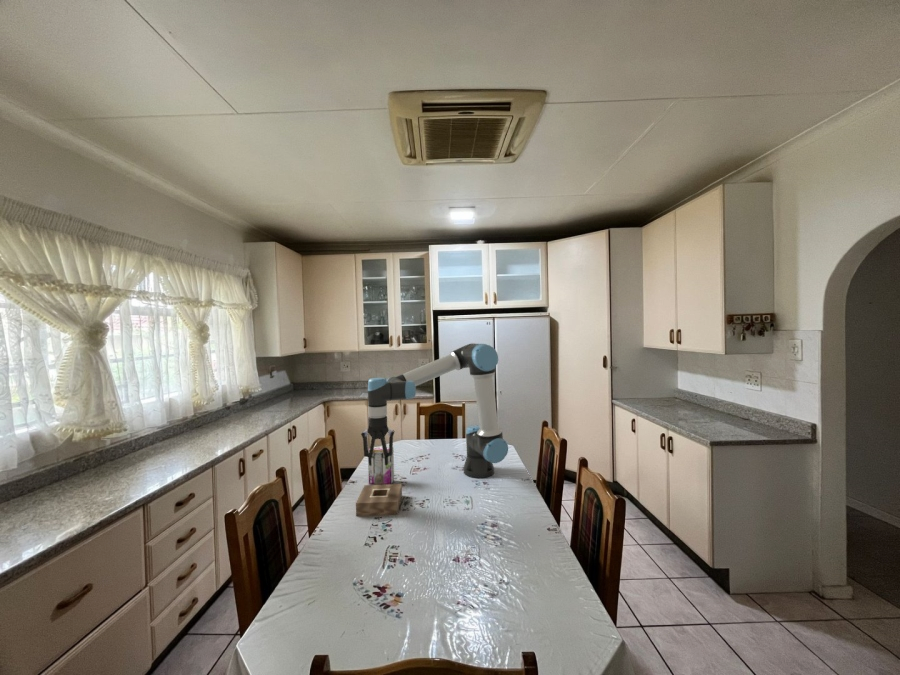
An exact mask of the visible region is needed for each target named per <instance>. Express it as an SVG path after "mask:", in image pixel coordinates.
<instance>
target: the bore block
mask: <svg viewBox="0 0 900 675" xmlns="http://www.w3.org/2000/svg"><path fill="white" fill-rule="evenodd" d="M402 485H403V484H402V483H392V484H364V485H363V487H362V490H361V491H360V493H359V496H358V498H357V500H356V502H355V516H356V517H366V516H367V517H368V516H369V517H370V516H389V515H393V516H394V515H395V516H396V515H399V511H400V505H401V501H402V498H403V497H402V496H403V489H402V488H403V487H402Z"/></svg>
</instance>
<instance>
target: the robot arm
mask: <svg viewBox="0 0 900 675" xmlns="http://www.w3.org/2000/svg"><path fill="white" fill-rule="evenodd" d="M498 363H499V354H498V352H497V350H496V349H495V348H494V347H493V346H491V345H490V344H486V343H468V344H466V345H463V346H461V347H459V348H456V349H454V350H453V351H450V352H449V354H448V355H446V356H443V357H441V358H438V359H435V360H433V361H431V362H429V363H426V364H423V365H421V366H420V367H419V366H418V367H416V368H414V369H411V370H409V371H407V372H404V373H402V374H398V375H396V376H390V377H388V378H385V377H371V378H369V380H367V381H368V382H367V410H368V411H367V415H368V428H367V429H366V430H363V431H362V433H361V434H360V435H361V437H362V443H363V445H362V446H363V456H364V457H367V459H368V458H369V466H372V474H374V456H372V455H373V450H374V447H375V444H376V440H379V441H380V443H381V447H382V448H383V452H384V457H383V474H385V472H386V465H388V457H389V456H391V455H392V453H393V454H394V444H393V443H394V434H395V430H391V429H390V428H389V427H388V416H387V415H388V404H387V403H388V401H389V402H390V401H400V400H410V399H414V398H415V397H416V393H417V392H416V391H417V389H416V388H417V386H420V385H423V384H424V383H427V382H428V381H431V380H433V379H435V378H438V377H440V376H443V375H445V374H448V373H450V372H451V371H454V370H457V371H460V370H463V369H467V368H469V375H470V376H471V377H472V378H473V382H474V390H475V391H474V392H475V399H476V407H477V415H478V416H477V417H478V425H477V424H475V425H470V426H468V427H466V429H465V430H466V431H465V432H466V433H465V438H466V439H465V440H466V441H465V442H466V445H465V446H466V458H465V462H464V466H463V474H464V475H465V476H468V477H470V478H475V479H482V478H483V479H484V478H488V477H491V476H493V475H494V473H495V467H494V464H498V463H500V462H502V461H503V460H504V459H505V458H506V457H507V455H508V452H509V445H508V443H507V441H506V440H505V439H504V437H503V436H504V435H503V429H502V428H500V427H499V423H498V414H497V413H498V412H497V404H496V396H495V395H496V394H495V386H494V377H493V376H494V375H495V374H496V367H497V365H498ZM387 434H388V436H389V439H388V446H387V442H386V435H387ZM368 436H370V438H371V441H370V447H369V446H368V445H369V444H368V443H369V442H368ZM387 447H389V452H388V451H387ZM368 449H370V452H369V453H368Z"/></svg>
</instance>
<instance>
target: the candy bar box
mask: <svg viewBox="0 0 900 675" xmlns="http://www.w3.org/2000/svg"><path fill="white" fill-rule="evenodd" d="M378 451H381V452H383V448H382V446H374V450H373V453H374V452H378ZM387 451H388V452H389V446H387ZM369 452H370V448H368V453H369ZM372 456H374V455H372ZM383 456H384V452H383ZM367 459H368V460H367V462H368V485H376V484H375V483H374V474H372V466H369V458H368V457H367ZM394 463H395V462H394V452H393V453H392V455H391V456H389V457H388V465H386V472H385V474H384V483H382V484H381V485H385V484H394V481H395V469H394V468H395V467H394V466H395V464H394Z"/></svg>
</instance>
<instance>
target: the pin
mask: <svg viewBox="0 0 900 675" xmlns="http://www.w3.org/2000/svg"><path fill="white" fill-rule="evenodd" d="M373 455H374V483H375V484H374V485H383V484H382V483H384V474H383V457H384V456H383V452H381V451H378V452H374V453H373Z"/></svg>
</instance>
